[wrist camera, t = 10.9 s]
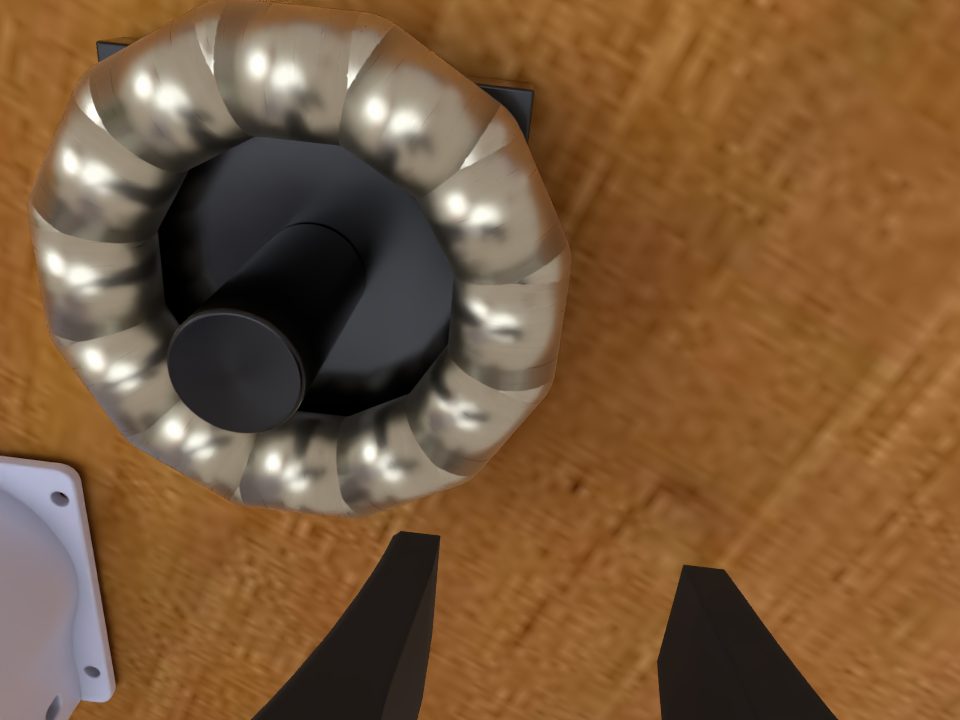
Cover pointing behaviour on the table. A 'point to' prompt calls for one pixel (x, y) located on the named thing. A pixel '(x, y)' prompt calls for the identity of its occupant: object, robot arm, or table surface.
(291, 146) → the tape post
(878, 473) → the table surface
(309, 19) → the segmented metal ring
